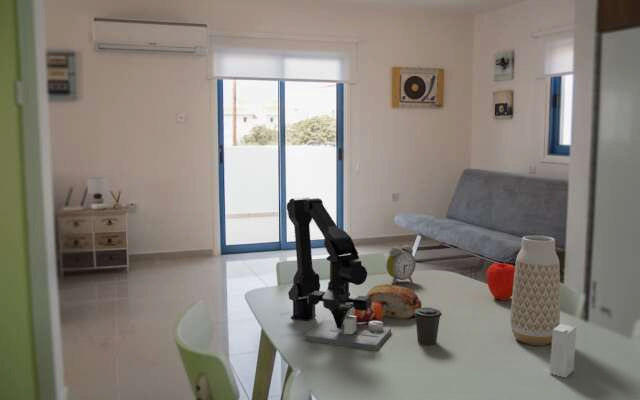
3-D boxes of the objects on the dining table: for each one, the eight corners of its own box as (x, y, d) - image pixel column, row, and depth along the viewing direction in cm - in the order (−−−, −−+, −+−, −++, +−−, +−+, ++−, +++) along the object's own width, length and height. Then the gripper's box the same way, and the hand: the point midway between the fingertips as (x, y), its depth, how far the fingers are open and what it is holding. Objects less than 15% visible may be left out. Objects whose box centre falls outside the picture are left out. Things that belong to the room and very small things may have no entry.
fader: (344, 333, 182) (344, 318, 182) (348, 329, 186) (348, 314, 185) (352, 334, 181) (352, 319, 181) (356, 330, 185) (356, 315, 185)
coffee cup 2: (424, 349, 175) (425, 315, 174) (407, 340, 182) (408, 307, 181) (446, 344, 179) (447, 311, 177) (429, 335, 186) (430, 303, 185)
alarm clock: (393, 285, 243) (394, 248, 241) (382, 282, 248) (383, 245, 246) (415, 281, 249) (416, 245, 247) (404, 278, 255) (405, 242, 253)
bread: (355, 315, 206) (355, 286, 205) (372, 300, 223) (372, 273, 222) (414, 323, 199) (415, 292, 197) (427, 307, 215) (428, 279, 214)
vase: (557, 335, 187) (562, 235, 183) (559, 350, 174) (565, 244, 170) (510, 329, 191) (514, 232, 187) (508, 345, 178) (513, 241, 174)
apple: (522, 297, 227) (524, 261, 225) (514, 305, 217) (515, 268, 215) (491, 292, 233) (492, 258, 232) (481, 300, 223) (482, 264, 222)
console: (304, 340, 182) (304, 328, 182) (324, 323, 197) (324, 312, 196) (375, 350, 174) (376, 338, 173) (390, 332, 189) (391, 321, 188)
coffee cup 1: (389, 318, 195) (354, 316, 185) (372, 329, 199) (337, 328, 190) (380, 294, 199) (346, 291, 190) (365, 306, 204) (330, 304, 194)
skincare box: (557, 367, 162) (559, 322, 161) (574, 371, 159) (577, 326, 158) (548, 374, 158) (550, 328, 156) (566, 379, 155) (569, 332, 153)
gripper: (299, 280, 179) (300, 332, 181) (360, 287, 172) (360, 340, 174) (314, 272, 189) (314, 321, 191) (372, 278, 182) (372, 328, 184)
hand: (339, 328), depth 185 cm, fingers closed
